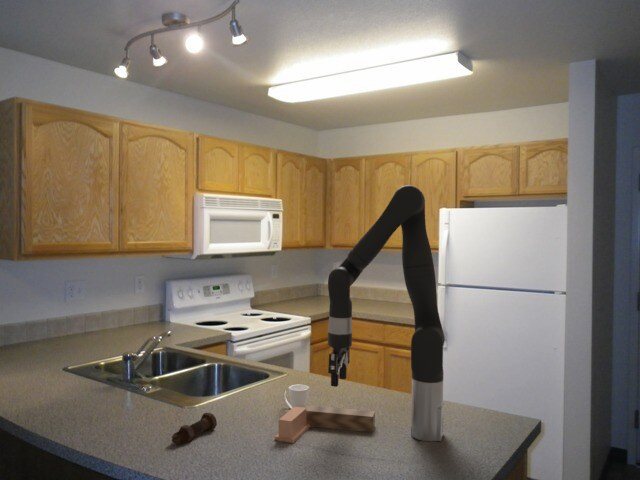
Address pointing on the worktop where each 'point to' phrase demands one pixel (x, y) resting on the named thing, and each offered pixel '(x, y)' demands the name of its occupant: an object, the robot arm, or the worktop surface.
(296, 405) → the cup
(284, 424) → the ridge
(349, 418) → the walnut bar
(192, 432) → the bolt
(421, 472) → the worktop surface
